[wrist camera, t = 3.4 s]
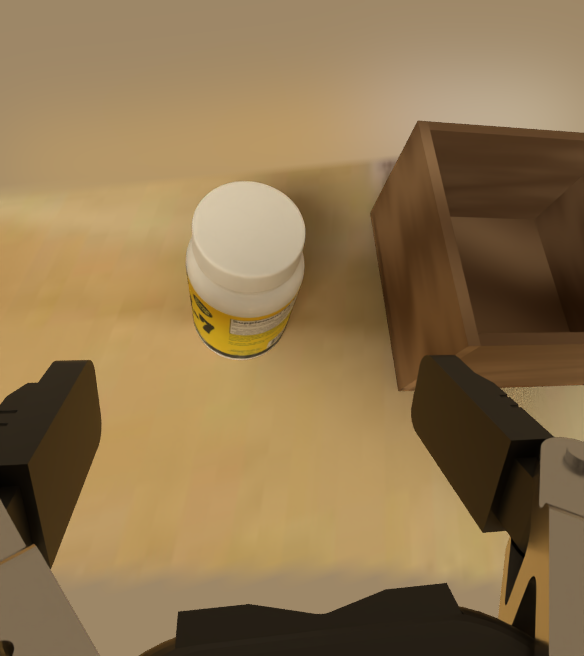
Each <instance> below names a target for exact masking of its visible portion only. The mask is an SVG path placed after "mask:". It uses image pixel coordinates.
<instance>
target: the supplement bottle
mask: <svg viewBox="0 0 584 656" xmlns="http://www.w3.org/2000/svg"><path fill="white" fill-rule="evenodd" d="M305 236H306V230H305V224H304V220H303V217H302V215H301V213H300V211H299V209H298V208H297V206H296V205H295V204H294V202H293V201H292V200H291V199H290V198H289V197H288V196H286V195H285V194H284V193H282V192H280V191H279V190H277V189H275V188H273V187H271V186H269V185H266V184H263V183H258V182H252V181H238V182H231V183H227V184H224V185H221V186H219V187H217V188H215V189H213V190H212V191H211V192H209V193H208V194H207V195H206V196H205V197H204V198H203V199H202V200H201V201H200V203H199V204H198V206H197V208H196V210H195V212H194V216H193V220H192V237H191V239H190V242H189V245H188V248H187V253H186V270H187V277H188V284H189V292H190V299H191V305H192V312H193V319H194V324H195V328H196V331H197V333H198V335H199V337H200V338H201V340H202V341H203V343H204V344H205V345H206V346H207V347H208V348H209V349H210V350H212V351H213V352H214V353H216V354H218V355H220V356H222V357H225V358H229V359H233V360H248V359H253V358H256V357H259V356H261V355H263V354H265V353H266V352H268V351H269V350H271V349H272V348H273V347H274V346H275V345H276V344H277V342H278V341H279V340H280V338H281V336H282V334H283V332H284V330H285V327H286V324H287V322H288V319H289V316H290V313H291V311H292V308H293V305H294V303H295V300H296V297H297V294H298V292H299V289H300V287H301V284H302V280H303V276H304V268H305V264H304V256H303V252H302V251H303V247H304V243H305Z"/></svg>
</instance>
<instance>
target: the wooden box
mask: <svg viewBox="0 0 584 656" xmlns="http://www.w3.org/2000/svg"><path fill="white" fill-rule="evenodd" d="M370 214H371V220H372V227H373V233H374V239H375V246H376V252H377V258H378V264H379V271H380V277H381V283H382V290H383V296H384V302H385V309H386V315H387V321H388V328H389V334H390V340H391V347H392V353H393V359H394V366H395V372H396V378H397V385H398V391H414V390H415V387H416V381H417V376H418V371H419V366H420V362H421V360H422V358H423V357H424V356H426V355H456V356H457V357H458V358H459V359H461V360H462V361H463V362H464V363H465V364H466V365H467V366H468V367H469V368H470V369H471V370H472V371H473V372H475V373H476V374H478V375H480V376H482V377H484V378H486V379H488V380H489V381H491V382H493V383H495V384H496V385H497V386H498V387H499V388H504V387H535V386H565V385H584V133H578V132H565V131H564V132H563V131H551V130H537V129H523V128H510V127H496V126H482V125H469V124H455V123H441V122H428V121H417V123H416V125H415V127H414V129H413V131H412V133H411V135H410V137H409V139H408V141H407V143H406V145H405V147H404V149H403V151H402V153H401V154H400V156H399V158H398V160H397V162H396V164H395V166H394V168H393V170H392V172H391V174H390V176H389V178H388V180H387V182H386V184H385V185H384V187H383V189H382V191H381V193H380V195H379V197H378V199H377V201H376V203H375V205H374V207H373V209H372V211H371V213H370Z"/></svg>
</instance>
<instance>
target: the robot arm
mask: <svg viewBox="0 0 584 656" xmlns="http://www.w3.org/2000/svg"><path fill="white" fill-rule="evenodd" d="M411 418H412V423H413V427H414V429H415V431H416V433H417V435H418V436H419V438H420V439H421V441H422V442H423V444H424V445H425V447H426V448H427V450H428V451H429V453H430V454H431V456H432V457H433V459H434V460H435V462H436V463H437V465H438V466H439V468H440V469H441V471H442V472H443V474H444V475H445V477H446V478H447V480H448V481H449V483H450V484H451V486H452V487H453V489H454V490H455V492H456V493H457V495H458V496H459V498H460V499H461V501H462V502H463V504H464V505H465V507H466V508H467V510H468V511H469V513H470V514H471V516H472V517H473V519H474V520H475V522H476V523H477V525H478V526H479V528H480V529H481V531H482V532H483V533H486V532H497V531H507V532H508V534H509V535H510V538H509V541H508V544H507V547H506V551H505V560H504V569H503V578H502V587H501V596H500V605H499V614H498V618H495V617H492V616H490V615H487V614H484V613H482V612H479V611H475V610H472V609H468V608H464V607H459V606H458V604H457V602H456V601H455V599H454V597H453V595H452V593H451V591H450V589H449V587H448V585H447V583H443V584H433V585H424V586H415V587H405V588H397V589H386V590H383V591H381V592H378V593H376V594H374V595H371V596H369V597H366V598H364V599H362V600H359V601H357V602H354V603H351V604H349V605H347V606H344V607H342V608H339V609H337V610H334V611H332V612H329V613H326V614H312V613H305V612H299V611H292V610H285V609H279V608H272V607H265V606H258V605H252V604H251V605H250V604H246V605H237V606H227V607H218V608H209V609H199V610H190V611H180V612H178V619H177V631H176V637H175V638H173V639H170V640H168V641H165V642H163V643H161V644H159V645H157V646H155V647H153V648H151V649H149V650H147V651H145V652H144V653H143V654H141V655H139V656H584V442H582V441H579V440H575V439H571V438H564V437H553V436H552V435H551V434H550V433H549V432H548V431H547V430H546V429H545V428H543V427H542V426H541V425H540V424H539V423H538V422H537V421H536V420H535V419H533V418H532V417H531V416H530V415H529V414H528V413H527V412H526V411H525V410H523V409H522V408H521V407H518V404H517V403H516V402H515V401H513V400H512V399H511V398H510V397H507V394H506V393H505V392H504V391H502V390H501V389H500V388H499V387H498V386H497V385H496V384H495V383H493V382H491V381H489V380H488V379H486V378H484V377H482V376H480V375H478V374H476V373H475V372H473V371H472V370H471V369H470V368H469V367H468V366H467V365H466V364H465V363H464V362H463V361H462V360H461V359H459V358H458V357H457V356H456V355H426V356H424V357H423V358H422V360H421V362H420V366H419V371H418V376H417V381H416V387H415V392H414V397H413V402H412V408H411ZM100 437H101V413H100V406H99V398H98V390H97V383H96V375H95V369H94V365H93V363H92V361H91V360H71V361H54V362H53V363H52V364H51V366H50V367H49V368H48V370H47V371H46V373H45V374H44V375H43V377H42V378H41V379H40V381H39V382H38V383H27V384H25V385H24V386H22V387H21V388H19V389H18V390H16V391H14V392H13V393H11V394H10V395H8V396H7V397H6V398H5V399H4V401H3V402H2V403H1V404H0V656H100V655H99V653H98V651H97V650H96V648H95V646H94V644H93V643H92V641H91V639H90V637H89V636H88V634H87V632H86V630H85V629H84V627H83V625H82V624H81V622H80V620H79V618H78V617H77V615H76V613H75V611H74V610H73V608H72V606H71V605H70V603H69V601H68V599H67V598H66V596H65V594H64V592H63V591H62V589H61V587H60V585H59V584H58V582H57V580H56V578H55V577H54V575H53V573H52V572H51V570H50V569H51V567H52V565H53V562H54V560H55V557H56V555H57V552H58V549H59V547H60V544H61V542H62V539H63V536H64V534H65V531H66V529H67V526H68V523H69V521H70V518H71V516H72V513H73V510H74V508H75V505H76V503H77V500H78V498H79V495H80V492H81V490H82V487H83V485H84V482H85V479H86V477H87V474H88V472H89V469H90V466H91V464H92V461H93V459H94V456H95V453H96V451H97V448H98V446H99V442H100Z"/></svg>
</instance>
